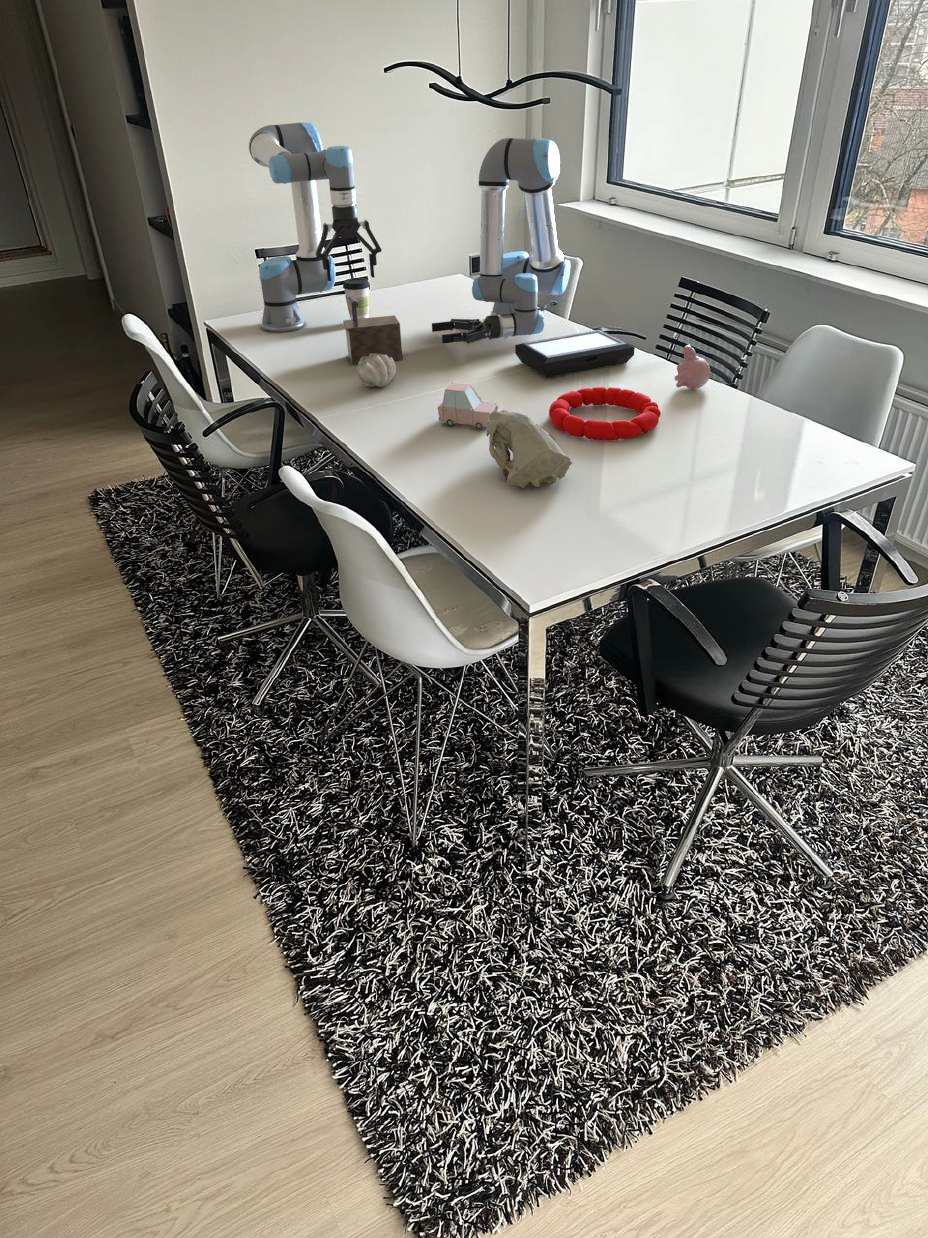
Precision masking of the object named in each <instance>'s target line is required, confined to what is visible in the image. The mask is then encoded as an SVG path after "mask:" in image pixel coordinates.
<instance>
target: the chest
mask: <svg viewBox="0 0 928 1238" xmlns="http://www.w3.org/2000/svg"><path fill="white" fill-rule="evenodd" d="M345 336H346V345H347V357H348V358H349V361H350V363H351V365H352V366H358V363H359V361H360V359H361V357H363V356H369V355H370V354H371V353H372V354H375V353H376V354H383V355H385V354H386V355H387V356H388V357H389V358H390V357H392V358H393V360H394V362H395V361H401V360H403V350H402V349H403V348H402V334H401V325H400V326H399V327H389V328H379V329H370V330H360V331H350V332H347V330H346V329H345Z"/></svg>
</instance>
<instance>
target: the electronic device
mask: <svg viewBox="0 0 928 1238" xmlns="http://www.w3.org/2000/svg"><path fill="white" fill-rule="evenodd" d="M635 349H636V347H635V346H633V345H632V344H630V343H628V342H625V341H623V340H621V339H619V338H618V337H615V335H611V333H610V334H609V333H608V332H605V330H602V329H597V330H596V329H595V330H590V331H585V332H580V333H574V334H568V335H567V334H566V335H562V336H556V337H551V338H550V337H549V338H546V339H539V340H533V341H528V342H527V341H526V342H521V343H518V344H515V345H514V354H515V355H516V357H517V358H518V360H519V361H520V362H521V363H522V364H524V365H525V366H527V367H528V368H530V369H532V370H533V371H535V372H537V373H538V374H540V375H541V376H543V377H545V378H546V379H548V378H553V377H558V376H559V377H560V376H563V375H569V374H574V373H575V374H576V373H581V372H585V371H592V370H596V369H602V368H607V367H613V366H619V365H624V364H627V363H628V362H629V361H630V360H631V359H632V358H633V357H634V356H635Z"/></svg>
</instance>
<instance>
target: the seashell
mask: <svg viewBox="0 0 928 1238" xmlns="http://www.w3.org/2000/svg"><path fill="white" fill-rule="evenodd" d="M396 367H397V365H396V363H395V361H394V360H393V358H392V357H390V358H389V357H388V356H387V355H386V354H385V355H383V354H376V353H375V354H372V353H371V354H370V355H369V356H363V357H361V359H360V361H359V363H358V365H357V368H356V373H357V376H358V379H359V381H360V382H361V383H362V384H363V385H365V386H367V387H370V388H372V387H375V386H376V387H381V388H382V387H385V386H388V384H389V383H391V381H392V380H393V378H394V377H395V375H396V372H397V368H396Z"/></svg>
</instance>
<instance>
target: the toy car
mask: <svg viewBox="0 0 928 1238" xmlns="http://www.w3.org/2000/svg"><path fill="white" fill-rule="evenodd" d="M498 409H499V404H498V403H497V402H490V401H489V402H487V401H483V397H481V396H480V395H479V394H478V393H477V391H476V390H475V389H474V386H472V384H469V383H459V382H451V383H450V384H449V385H448V386H447V387H446V388H445V389H444V394H443V399H442V403H440V404H439V405H438V406H437V413H438V421H439V422H443V423H446V425H447V426H448V427H452V426H454V425H455V424H461V425H469V426H473V427H475V429H476V430H479V431H480V430H481V429H483V428H485V427H486V428H487V423H488V422H490V414H491V413H492V412H496V411H499V410H498Z"/></svg>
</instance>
